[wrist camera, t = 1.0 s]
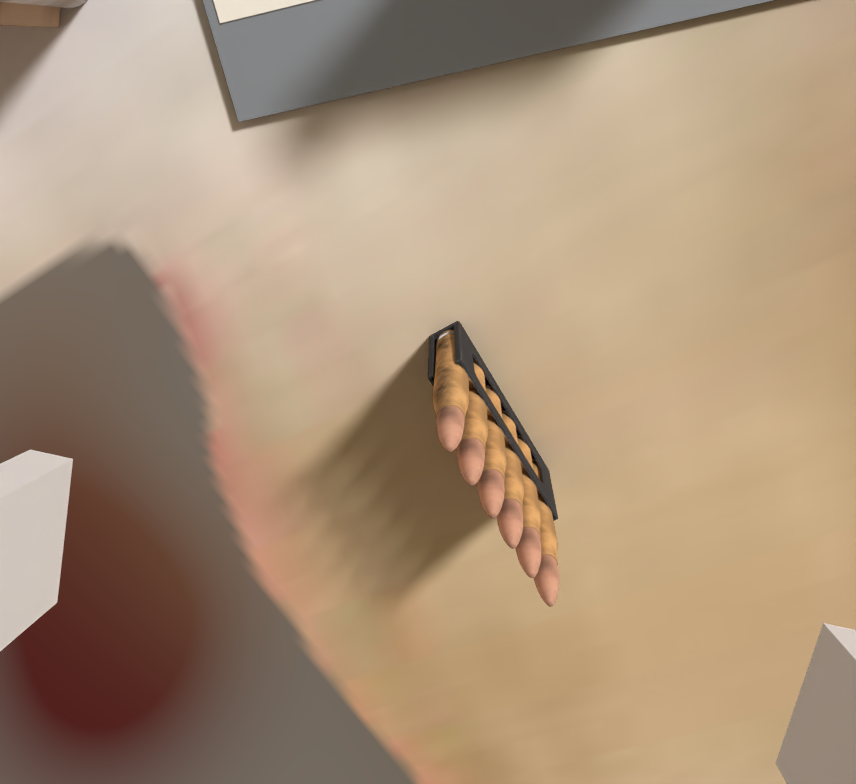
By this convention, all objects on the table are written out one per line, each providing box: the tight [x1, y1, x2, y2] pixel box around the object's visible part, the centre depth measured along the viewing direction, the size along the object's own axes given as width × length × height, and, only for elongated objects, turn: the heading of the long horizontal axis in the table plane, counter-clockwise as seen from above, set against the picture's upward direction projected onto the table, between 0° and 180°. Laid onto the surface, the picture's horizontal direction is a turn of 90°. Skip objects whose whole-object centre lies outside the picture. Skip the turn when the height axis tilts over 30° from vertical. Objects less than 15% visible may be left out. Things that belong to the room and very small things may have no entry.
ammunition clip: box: [428, 321, 559, 607], centre depth 37 cm, size 11×2×12 cm, turn 31°
